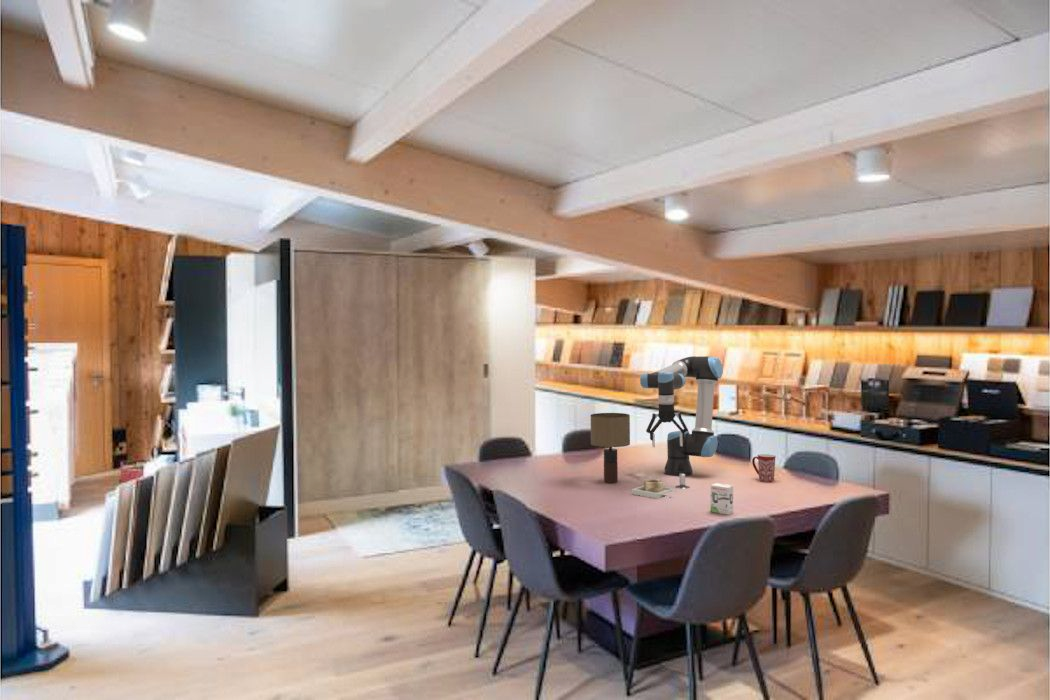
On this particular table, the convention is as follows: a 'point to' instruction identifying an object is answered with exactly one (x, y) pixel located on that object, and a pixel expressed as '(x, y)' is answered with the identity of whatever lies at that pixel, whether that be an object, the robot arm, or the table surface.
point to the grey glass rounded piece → (682, 482)
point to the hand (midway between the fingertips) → (667, 446)
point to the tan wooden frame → (653, 485)
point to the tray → (651, 494)
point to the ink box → (722, 498)
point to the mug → (765, 467)
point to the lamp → (610, 439)
